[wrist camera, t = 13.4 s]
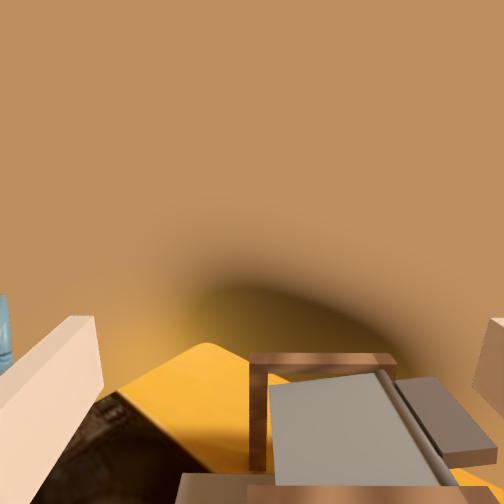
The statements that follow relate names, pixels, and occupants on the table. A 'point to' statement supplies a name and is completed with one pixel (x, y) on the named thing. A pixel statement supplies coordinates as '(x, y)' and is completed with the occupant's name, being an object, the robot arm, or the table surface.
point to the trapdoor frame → (333, 497)
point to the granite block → (218, 487)
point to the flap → (372, 433)
